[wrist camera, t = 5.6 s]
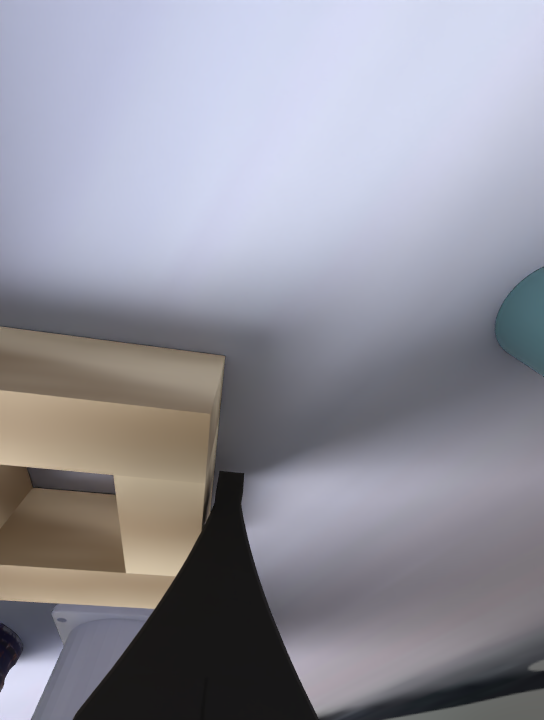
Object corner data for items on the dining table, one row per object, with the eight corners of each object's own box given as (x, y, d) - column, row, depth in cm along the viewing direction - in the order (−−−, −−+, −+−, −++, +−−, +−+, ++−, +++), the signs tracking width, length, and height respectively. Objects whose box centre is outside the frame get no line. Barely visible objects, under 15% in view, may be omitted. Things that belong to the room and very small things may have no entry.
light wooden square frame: (207, 536, 15) (195, 611, 12) (-14, 519, 14) (-79, 595, 11) (225, 356, 10) (210, 413, 7) (-109, 312, 9) (-260, 360, 7)
